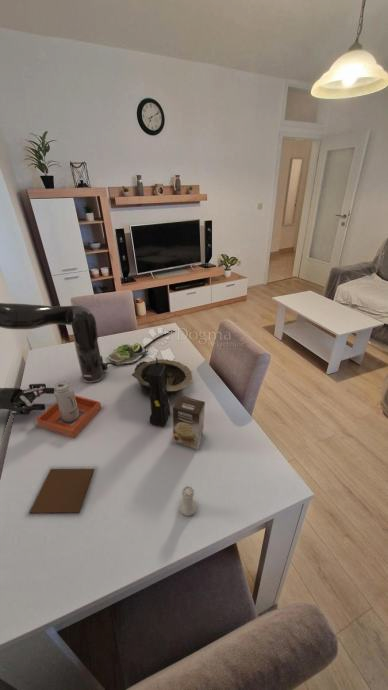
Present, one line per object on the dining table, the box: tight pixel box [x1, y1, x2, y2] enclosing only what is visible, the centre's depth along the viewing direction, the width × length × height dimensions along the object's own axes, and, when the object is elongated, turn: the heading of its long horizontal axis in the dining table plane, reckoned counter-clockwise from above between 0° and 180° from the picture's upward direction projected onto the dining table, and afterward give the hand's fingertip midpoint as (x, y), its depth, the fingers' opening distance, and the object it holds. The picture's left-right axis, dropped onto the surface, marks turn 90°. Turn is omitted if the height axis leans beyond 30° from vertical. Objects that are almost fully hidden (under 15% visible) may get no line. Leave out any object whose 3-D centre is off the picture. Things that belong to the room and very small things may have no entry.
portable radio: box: [146, 357, 171, 427], centre depth 96 cm, size 8×6×25 cm
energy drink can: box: [53, 380, 80, 423], centre depth 100 cm, size 6×6×15 cm
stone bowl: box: [131, 358, 194, 399], centre depth 118 cm, size 25×25×9 cm
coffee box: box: [172, 394, 206, 451], centre depth 91 cm, size 9×6×16 cm
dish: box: [35, 394, 102, 439], centre depth 102 cm, size 16×16×3 cm
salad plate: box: [107, 342, 149, 366], centre depth 139 cm, size 19×18×5 cm
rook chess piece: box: [179, 485, 197, 517], centre depth 73 cm, size 4×4×8 cm
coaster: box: [28, 468, 95, 514], centre depth 78 cm, size 13×13×1 cm
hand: (50, 398), depth 99 cm, fingers open, 8 cm apart
